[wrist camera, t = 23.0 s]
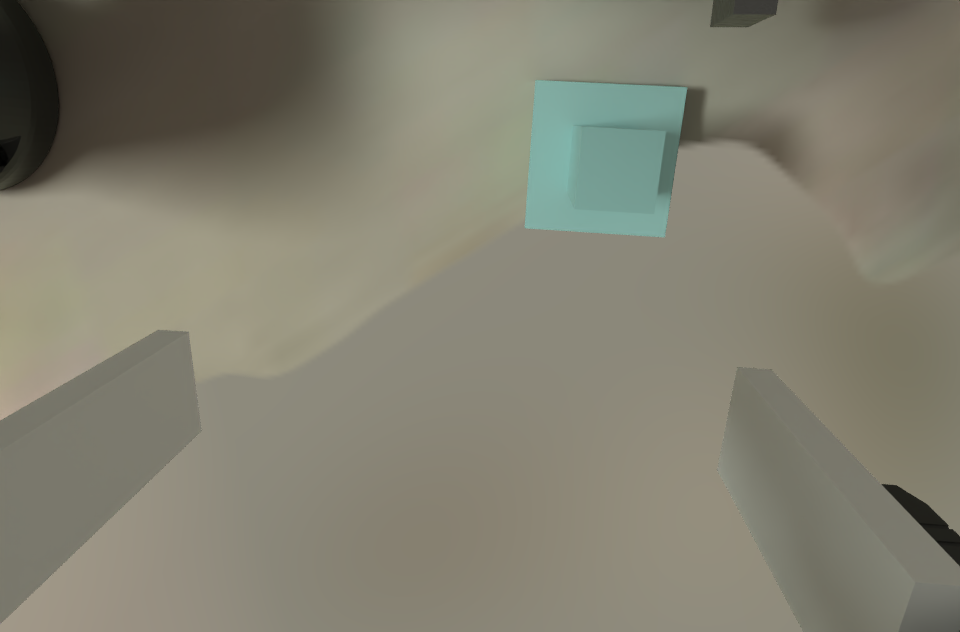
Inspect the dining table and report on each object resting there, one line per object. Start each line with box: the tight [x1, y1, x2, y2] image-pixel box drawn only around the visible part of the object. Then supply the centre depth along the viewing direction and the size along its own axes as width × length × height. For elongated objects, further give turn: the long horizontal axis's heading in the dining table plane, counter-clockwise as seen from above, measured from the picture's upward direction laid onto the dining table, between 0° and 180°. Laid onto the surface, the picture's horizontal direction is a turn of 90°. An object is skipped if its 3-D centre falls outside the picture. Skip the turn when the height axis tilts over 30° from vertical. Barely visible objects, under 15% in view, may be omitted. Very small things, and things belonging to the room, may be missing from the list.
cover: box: [525, 80, 687, 237], centre depth 34 cm, size 9×9×10 cm
